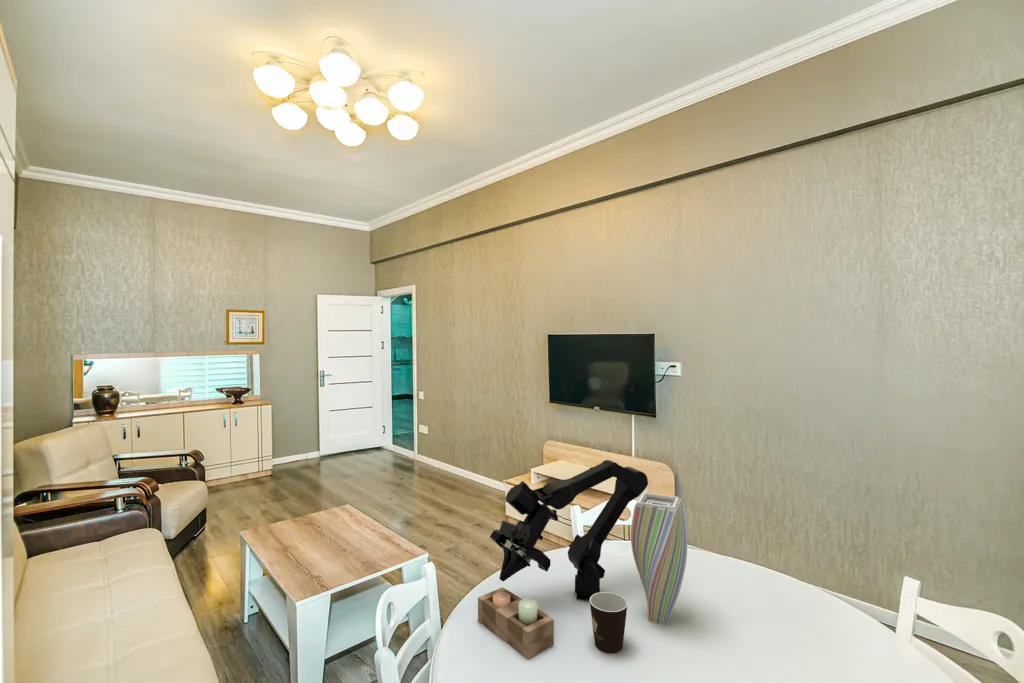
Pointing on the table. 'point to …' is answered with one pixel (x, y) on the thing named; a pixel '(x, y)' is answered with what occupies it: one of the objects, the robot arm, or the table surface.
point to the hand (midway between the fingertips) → (501, 580)
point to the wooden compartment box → (516, 625)
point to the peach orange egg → (501, 599)
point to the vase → (659, 551)
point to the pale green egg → (527, 611)
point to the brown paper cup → (608, 621)
